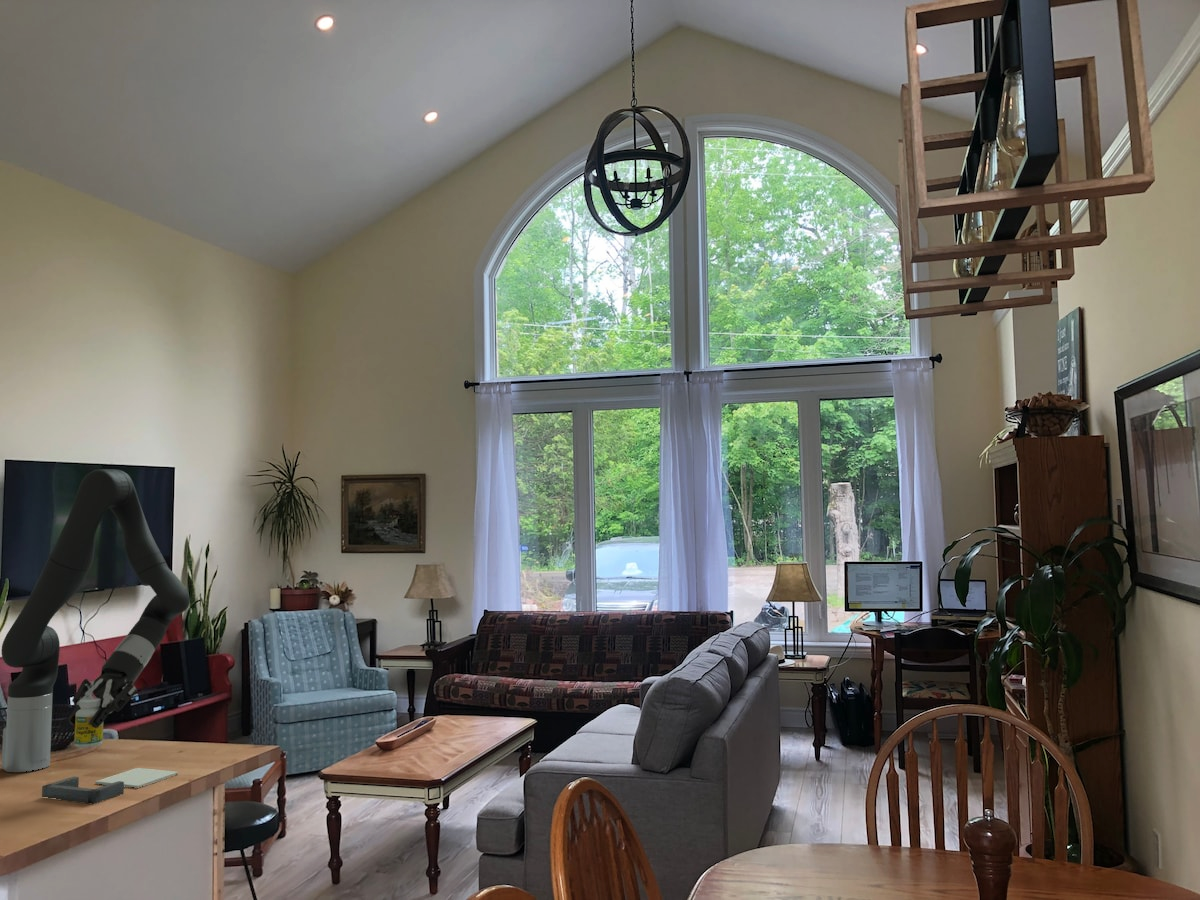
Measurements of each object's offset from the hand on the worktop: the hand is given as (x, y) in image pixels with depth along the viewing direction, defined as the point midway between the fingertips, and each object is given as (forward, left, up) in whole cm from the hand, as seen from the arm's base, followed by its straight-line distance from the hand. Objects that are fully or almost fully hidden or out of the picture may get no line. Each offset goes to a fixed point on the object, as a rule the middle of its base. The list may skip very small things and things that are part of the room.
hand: (82, 724), depth 199 cm
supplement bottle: (0, +2, -5) cm, 5 cm away
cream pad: (+1, +15, -15) cm, 21 cm away
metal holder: (0, +2, -15) cm, 15 cm away
